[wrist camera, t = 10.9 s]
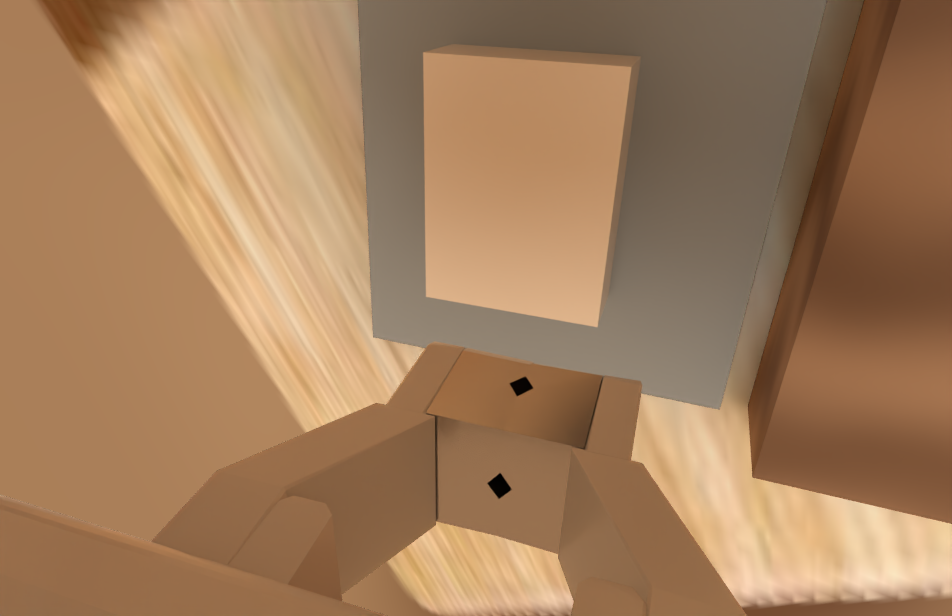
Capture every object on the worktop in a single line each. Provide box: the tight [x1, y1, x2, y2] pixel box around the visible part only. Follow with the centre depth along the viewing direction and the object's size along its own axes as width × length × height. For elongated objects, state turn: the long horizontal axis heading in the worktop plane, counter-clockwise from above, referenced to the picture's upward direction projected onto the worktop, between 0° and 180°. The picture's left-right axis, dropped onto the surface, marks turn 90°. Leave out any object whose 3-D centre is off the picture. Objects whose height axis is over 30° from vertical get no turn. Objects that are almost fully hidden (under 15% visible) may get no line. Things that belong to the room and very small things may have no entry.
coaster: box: [423, 44, 641, 327], centre depth 21 cm, size 8×6×2 cm
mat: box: [358, 0, 827, 410], centre depth 22 cm, size 15×14×1 cm
